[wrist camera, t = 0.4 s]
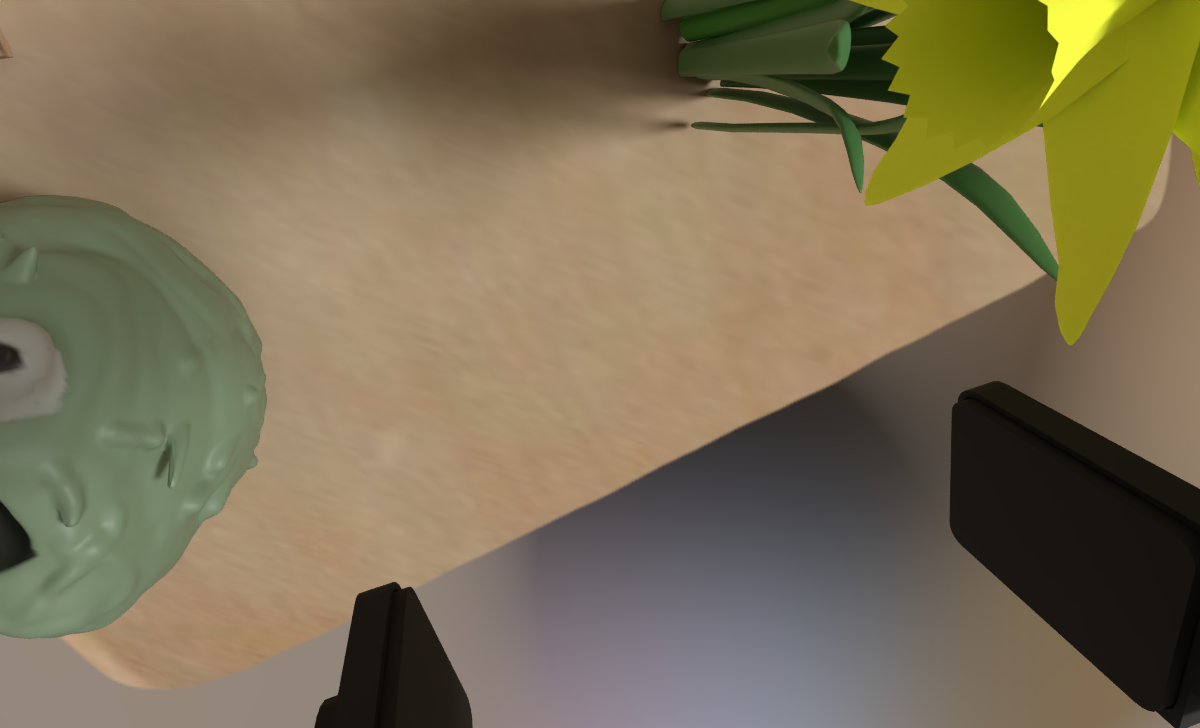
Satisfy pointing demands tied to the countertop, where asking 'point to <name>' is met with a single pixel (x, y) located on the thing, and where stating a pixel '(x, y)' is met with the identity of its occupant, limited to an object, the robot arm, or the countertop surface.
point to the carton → (4, 48)
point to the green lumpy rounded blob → (111, 409)
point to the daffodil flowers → (977, 102)
